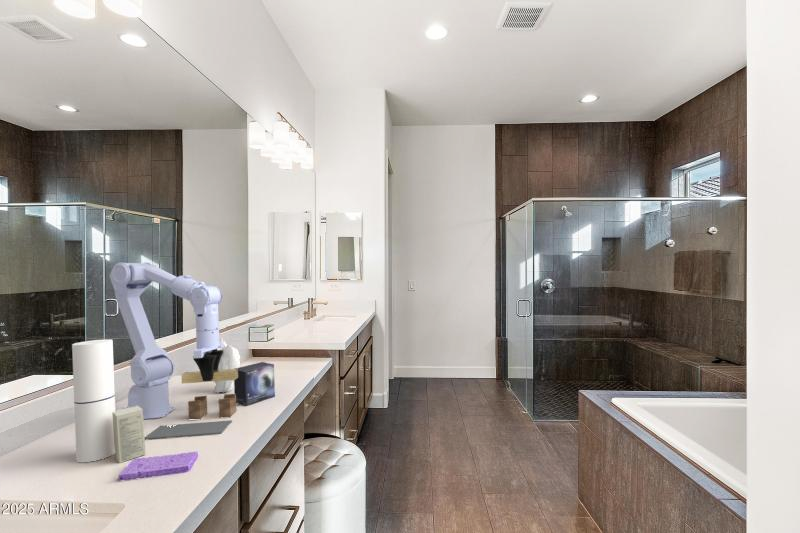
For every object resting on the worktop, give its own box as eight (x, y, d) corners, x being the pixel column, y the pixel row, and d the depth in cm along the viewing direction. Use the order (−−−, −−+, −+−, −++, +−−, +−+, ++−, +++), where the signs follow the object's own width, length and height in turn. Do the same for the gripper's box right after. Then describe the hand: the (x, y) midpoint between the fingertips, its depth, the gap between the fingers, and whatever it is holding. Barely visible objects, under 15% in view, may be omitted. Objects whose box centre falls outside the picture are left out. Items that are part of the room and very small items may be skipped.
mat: (143, 439, 96) (143, 438, 96) (160, 427, 104) (160, 425, 104) (220, 433, 98) (220, 432, 98) (231, 421, 106) (231, 420, 106)
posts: (188, 420, 108) (188, 401, 108) (196, 414, 113) (195, 396, 113) (230, 417, 109) (230, 398, 109) (236, 411, 114) (235, 393, 114)
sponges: (133, 467, 83) (133, 458, 83) (199, 458, 86) (199, 449, 86) (117, 484, 76) (117, 474, 77) (189, 474, 79) (189, 464, 79)
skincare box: (141, 449, 91) (139, 404, 91) (146, 455, 88) (144, 408, 88) (113, 457, 87) (111, 411, 87) (117, 464, 84) (115, 415, 84)
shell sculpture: (232, 394, 130) (230, 339, 131) (207, 396, 131) (204, 340, 131) (242, 387, 139) (240, 335, 139) (219, 388, 139) (216, 336, 139)
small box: (246, 407, 118) (244, 371, 118) (233, 403, 121) (232, 368, 122) (276, 396, 126) (274, 363, 126) (263, 393, 130) (262, 361, 130)
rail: (181, 383, 109) (181, 374, 109) (186, 381, 111) (185, 372, 111) (235, 379, 110) (234, 371, 110) (238, 377, 112) (237, 368, 112)
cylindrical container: (84, 465, 84) (80, 345, 84) (70, 458, 88) (66, 344, 88) (123, 451, 90) (118, 340, 90) (108, 445, 94) (104, 338, 94)
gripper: (212, 332, 104) (215, 385, 104) (231, 325, 118) (233, 371, 118) (184, 334, 103) (186, 387, 103) (206, 326, 118) (208, 373, 117)
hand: (209, 379), depth 110 cm, fingers closed on rail, 3 cm apart
